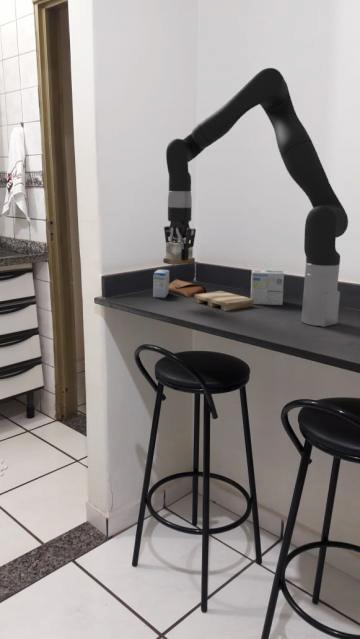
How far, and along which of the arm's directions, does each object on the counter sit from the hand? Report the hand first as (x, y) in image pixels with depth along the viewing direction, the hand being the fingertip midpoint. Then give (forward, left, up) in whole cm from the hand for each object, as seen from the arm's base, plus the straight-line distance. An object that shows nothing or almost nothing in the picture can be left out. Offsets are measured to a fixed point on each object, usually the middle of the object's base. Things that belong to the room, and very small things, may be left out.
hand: (179, 259), depth 167 cm
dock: (-9, -12, -15) cm, 21 cm away
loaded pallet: (0, 0, -1) cm, 1 cm away
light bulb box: (-15, -26, -15) cm, 33 cm away
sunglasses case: (+14, -13, -15) cm, 25 cm away
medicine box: (+14, -3, -15) cm, 21 cm away
